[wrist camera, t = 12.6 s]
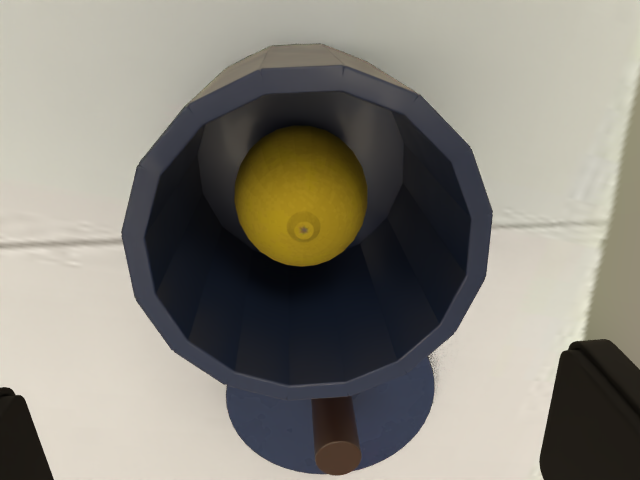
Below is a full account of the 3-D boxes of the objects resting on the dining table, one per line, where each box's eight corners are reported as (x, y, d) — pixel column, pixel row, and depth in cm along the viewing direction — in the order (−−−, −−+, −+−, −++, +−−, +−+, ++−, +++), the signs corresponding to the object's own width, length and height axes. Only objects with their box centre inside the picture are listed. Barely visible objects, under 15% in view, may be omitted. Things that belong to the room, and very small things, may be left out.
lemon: (375, 141, 25) (411, 195, 18) (323, 236, 27) (337, 320, 19) (271, 89, 24) (264, 124, 16) (224, 192, 25) (199, 265, 18)
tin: (169, 49, 23) (86, 75, 14) (419, 38, 24) (511, 57, 14) (202, 273, 28) (158, 410, 18) (411, 260, 28) (474, 388, 19)
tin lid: (216, 305, 29) (200, 369, 24) (435, 292, 29) (467, 351, 24) (238, 467, 34) (230, 549, 29) (425, 453, 34) (449, 531, 29)
